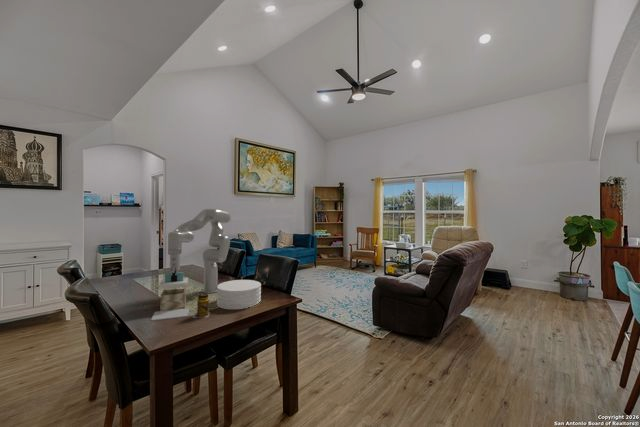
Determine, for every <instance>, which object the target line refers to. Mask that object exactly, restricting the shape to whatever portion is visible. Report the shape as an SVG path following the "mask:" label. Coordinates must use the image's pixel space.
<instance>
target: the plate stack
mask: <svg viewBox="0 0 640 427" xmlns="http://www.w3.org/2000/svg"><path fill="white" fill-rule="evenodd" d="M261 294H262V283H261V282H260V281H257V280H253V279H235V280H228V281H222V282H221V283H219V284H218V286H217V292H216V306H218V307H219V308H221V309H225V310H243V309H244V308H245V309H249V308H248V307H250V308H252V306H253V307H255V306H254V305H256V304H258V303H259V302H260V301H261V302H262V300H261V298H262V296H261ZM261 302H260V303H261ZM260 303H259V304H260ZM259 304H258V305H259ZM256 306H257V305H256Z"/></svg>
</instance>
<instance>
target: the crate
mask: <svg viewBox="0 0 640 427" xmlns="http://www.w3.org/2000/svg"><path fill="white" fill-rule="evenodd" d="M162 290H163V291H162V292H161V293H160V306H159V309H160V310H159V311H166V310H175V309H185V308H186V303H187V288H186V287H182V288H169V289H162Z"/></svg>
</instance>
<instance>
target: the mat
mask: <svg viewBox="0 0 640 427" xmlns="http://www.w3.org/2000/svg"><path fill="white" fill-rule="evenodd" d="M189 312H190V308H189V307H185V308H184V309H175V310H165V311H160V310H159V311H154V313H153V315H152V317H151V318H150V321H151V322H153V321H154V322H155V321H164V320H172V319H180V318H188V317H189Z"/></svg>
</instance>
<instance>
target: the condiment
mask: <svg viewBox="0 0 640 427" xmlns="http://www.w3.org/2000/svg"><path fill="white" fill-rule="evenodd" d="M197 298H198V299H197V303H196V304H197V305H196V306H197V307H196V309H197V310H196V311H197V312H195V313H193V316H191V317H192V319H197V318H198V319H201V318H203V319H204V318H209V316H210V314H211V312H209V311H210V310H209V308H210V302H209V301H210V299H209V293H200V294H198V297H197Z"/></svg>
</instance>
